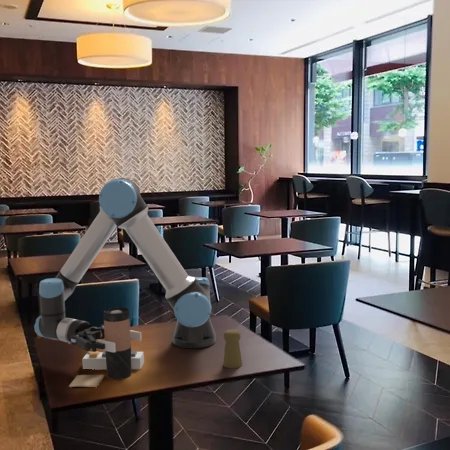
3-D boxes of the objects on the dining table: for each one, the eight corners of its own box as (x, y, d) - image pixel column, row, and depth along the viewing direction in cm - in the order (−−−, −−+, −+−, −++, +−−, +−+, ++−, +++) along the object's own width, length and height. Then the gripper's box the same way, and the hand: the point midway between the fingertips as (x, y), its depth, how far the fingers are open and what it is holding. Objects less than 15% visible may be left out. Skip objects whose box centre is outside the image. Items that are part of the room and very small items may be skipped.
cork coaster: (103, 376, 170) (103, 374, 170) (96, 387, 162) (96, 385, 162) (77, 377, 170) (77, 375, 170) (69, 387, 162) (69, 385, 162)
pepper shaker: (228, 369, 173) (227, 334, 172) (219, 363, 179) (218, 329, 178) (245, 365, 176) (245, 331, 175) (236, 360, 182) (235, 326, 180)
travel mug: (133, 377, 168) (130, 312, 166) (107, 381, 166) (104, 314, 164) (130, 369, 176) (127, 306, 173) (105, 372, 174) (102, 308, 171)
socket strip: (143, 362, 181) (143, 348, 181) (140, 369, 176) (140, 355, 175) (88, 362, 182) (87, 349, 182) (82, 369, 176) (82, 356, 176)
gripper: (101, 333, 189) (153, 343, 178) (46, 354, 170) (100, 366, 158) (100, 311, 188) (152, 319, 177) (45, 329, 169) (99, 340, 157)
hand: (128, 341), depth 167 cm, fingers open, 11 cm apart
